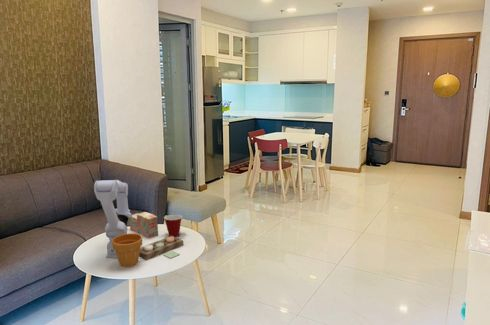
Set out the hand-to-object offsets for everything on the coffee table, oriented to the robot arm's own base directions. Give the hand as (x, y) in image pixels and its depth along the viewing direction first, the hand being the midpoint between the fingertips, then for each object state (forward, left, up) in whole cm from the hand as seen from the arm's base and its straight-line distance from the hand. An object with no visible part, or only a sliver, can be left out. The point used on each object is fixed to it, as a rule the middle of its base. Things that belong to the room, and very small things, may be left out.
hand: (124, 226), depth 208 cm
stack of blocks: (+16, -3, -10) cm, 19 cm away
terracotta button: (0, -27, -8) cm, 28 cm away
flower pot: (-23, -15, -10) cm, 29 cm away
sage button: (-6, -23, -9) cm, 26 cm away
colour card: (-11, -32, -9) cm, 35 cm away
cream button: (-12, -20, -8) cm, 25 cm away
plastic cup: (+14, -24, -10) cm, 29 cm away
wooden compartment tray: (-6, -24, -9) cm, 26 cm away
